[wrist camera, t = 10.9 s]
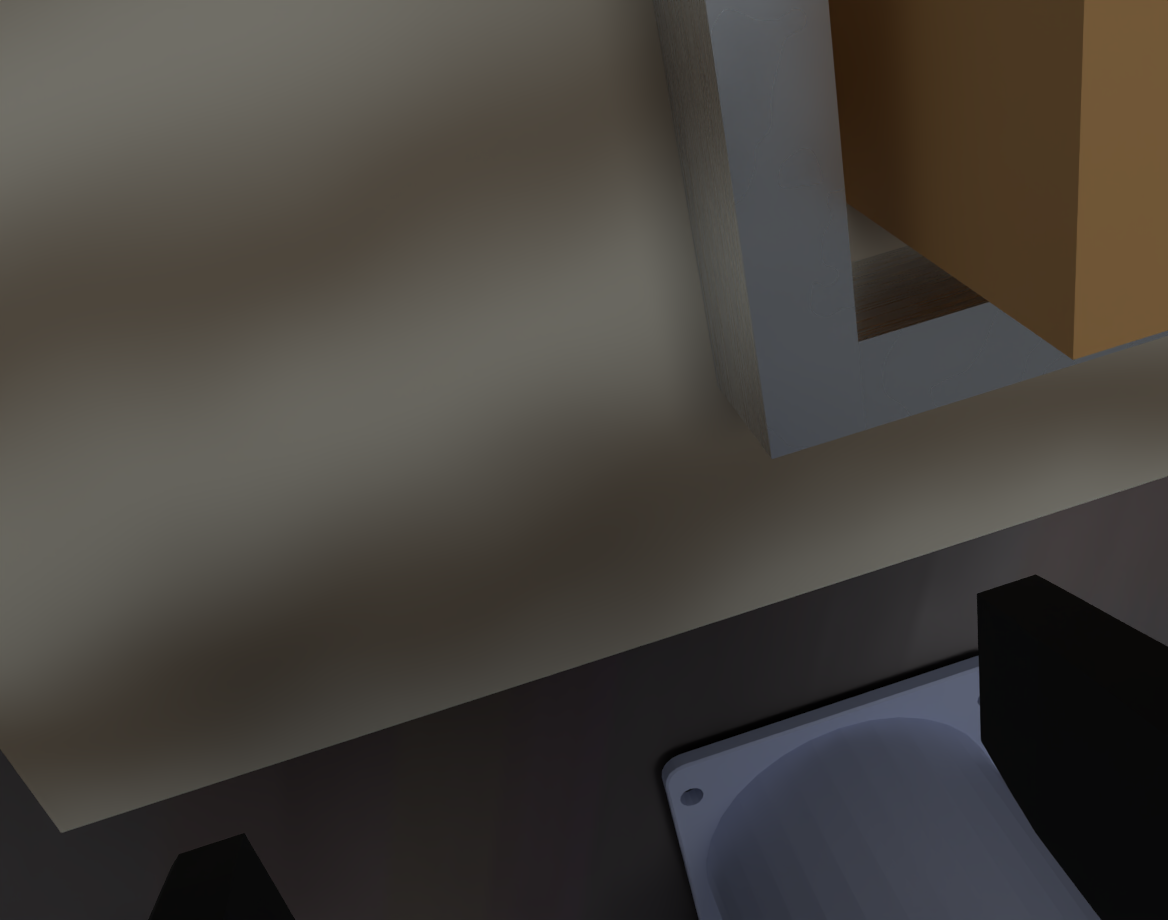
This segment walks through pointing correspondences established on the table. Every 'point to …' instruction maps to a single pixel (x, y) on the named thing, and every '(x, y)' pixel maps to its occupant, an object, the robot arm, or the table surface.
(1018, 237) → the cardboard-brown box
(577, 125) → the base board
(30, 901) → the table surface
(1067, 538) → the table surface
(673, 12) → the grey rectangular frame
